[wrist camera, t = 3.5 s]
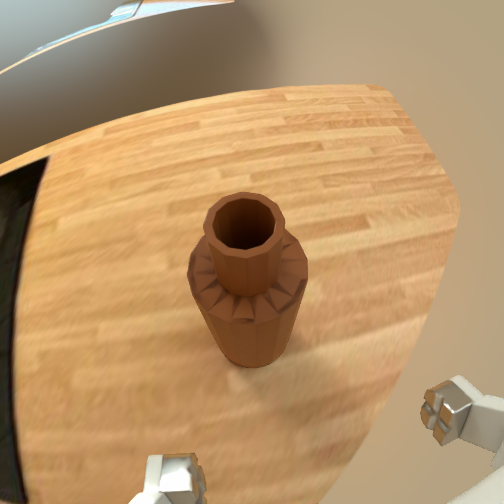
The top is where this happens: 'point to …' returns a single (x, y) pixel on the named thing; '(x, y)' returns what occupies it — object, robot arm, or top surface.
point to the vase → (248, 278)
